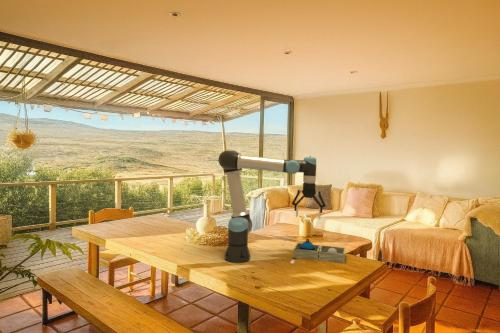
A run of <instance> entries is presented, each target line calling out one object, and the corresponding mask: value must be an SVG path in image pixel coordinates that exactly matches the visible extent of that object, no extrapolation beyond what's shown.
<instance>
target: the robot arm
mask: <svg viewBox="0 0 500 333" xmlns="http://www.w3.org/2000/svg"><path fill="white" fill-rule="evenodd" d="M217 160H218V164H219V166H220V168H222V170H223V174H224V175H225V176H226V179H227V184H228V191H229V197H230V203H231V209H232V214H231V216H230V218H229V220H228V224H227V226H228V229H227V230H228V233H227V247H226V250H225V253H224V260H225V261H227V262H230V263H237V264H239V263H240V264H241V263H246V262H249V261H250V260H251V253H250V249H249V246H248V245H249V243H248V242H249V234H250V232H251V231H252V229H253V222H252V219H251V215H250V212H249V211H247V207H246V206H247V205H246V199H245V195H244V194H245V193H244V187H243V184H242V183H243V182H242V177H241V172H243V169H249V170H255V171H257V170H258V171H266V172H275V173H276V172H278V173H284V174H285V173H286V174H291V175H295V174H297V173H303V174H302V176H303V180H302V182H303V183H302V190H300V189H298V190H297V193H296V195H295V196H294V198H293V200H292V202H291V205H293V206H294V211H295V217H297V218H298V216H299V203H301V201H303V199H304V198H306V199H312V198H313V200H314V202H316V205H318V206H319V207H318V219H320V220H321V214H322V213H323V208H325V207H326V205H327V204H325V201H324V199H323V196H322V194H321V193H322V191H321V190H318V191H317V190H316V185H317V184H316V181H317V158H316V157H311V156H310V157H308V156H307V157H306V156H305V157H304V158H303V160H299V159H284V158H273V157H265V156H264V157H263V156H255V155H254V156H253V155H245V154H244V155H243V154H242V153H241V152H238V151H236V150H231V149H230V150H229V149H226V150H223V151H221V153H220V154H219V156H218V158H217ZM300 194H302V196H301V197H300V198H299V199H298V197H299V196H300ZM316 194H317V196H318V198H319V199H318V198H317V196H316ZM297 199H298V200H297Z"/></svg>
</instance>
